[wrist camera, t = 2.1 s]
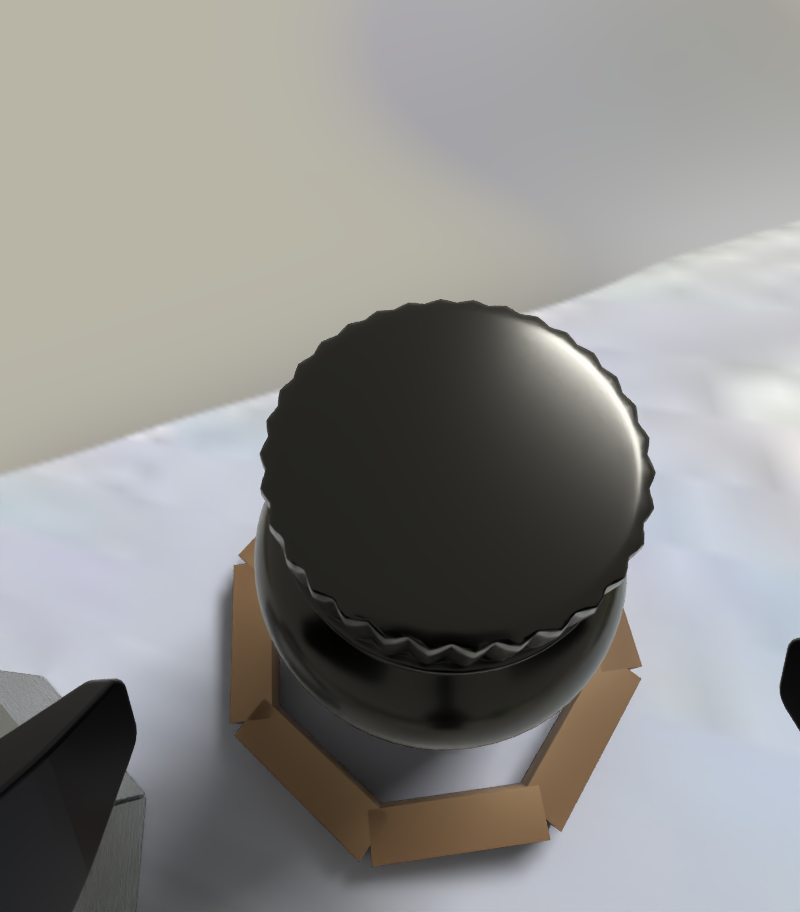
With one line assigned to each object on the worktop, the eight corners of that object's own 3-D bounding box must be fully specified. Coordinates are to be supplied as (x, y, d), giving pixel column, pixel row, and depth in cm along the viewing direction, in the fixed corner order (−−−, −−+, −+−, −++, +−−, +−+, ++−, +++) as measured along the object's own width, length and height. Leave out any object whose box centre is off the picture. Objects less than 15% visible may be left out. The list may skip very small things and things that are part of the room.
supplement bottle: (294, 709, 16) (43, 674, 5) (350, 504, 19) (267, 215, 8) (521, 763, 15) (790, 857, 4) (541, 540, 18) (725, 271, 7)
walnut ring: (476, 967, 13) (480, 985, 12) (163, 653, 16) (149, 650, 16) (679, 585, 17) (694, 577, 16) (395, 403, 21) (394, 388, 20)
